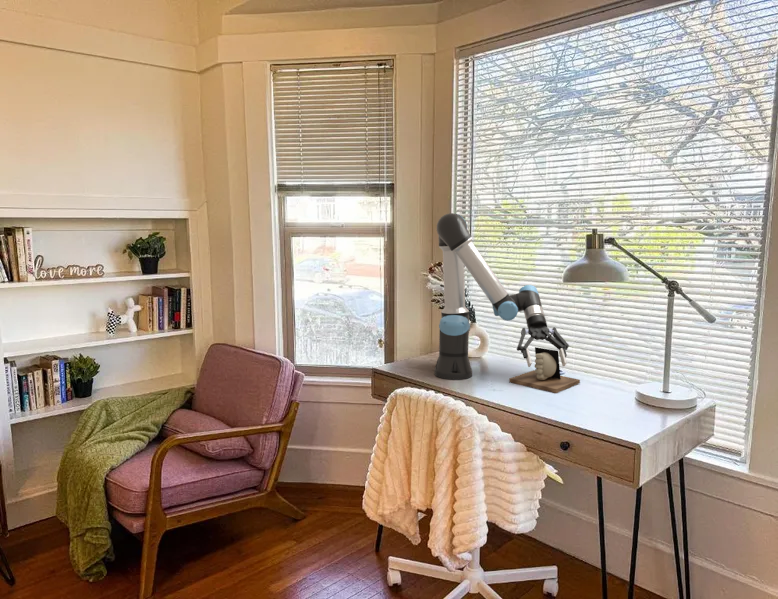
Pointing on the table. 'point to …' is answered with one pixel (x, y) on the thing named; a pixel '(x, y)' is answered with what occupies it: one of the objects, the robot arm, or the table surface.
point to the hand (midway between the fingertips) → (547, 364)
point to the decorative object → (547, 363)
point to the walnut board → (544, 382)
